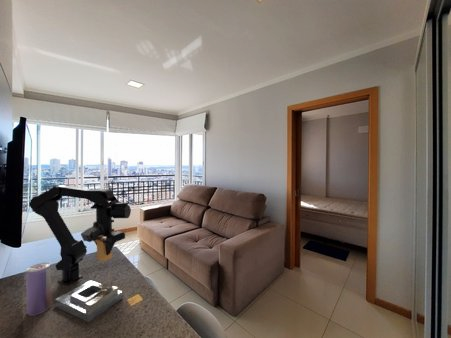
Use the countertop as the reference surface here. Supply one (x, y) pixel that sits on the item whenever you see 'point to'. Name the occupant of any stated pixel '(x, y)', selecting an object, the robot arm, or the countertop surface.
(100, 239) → the wedge pin
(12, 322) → the countertop surface
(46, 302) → the beverage can
